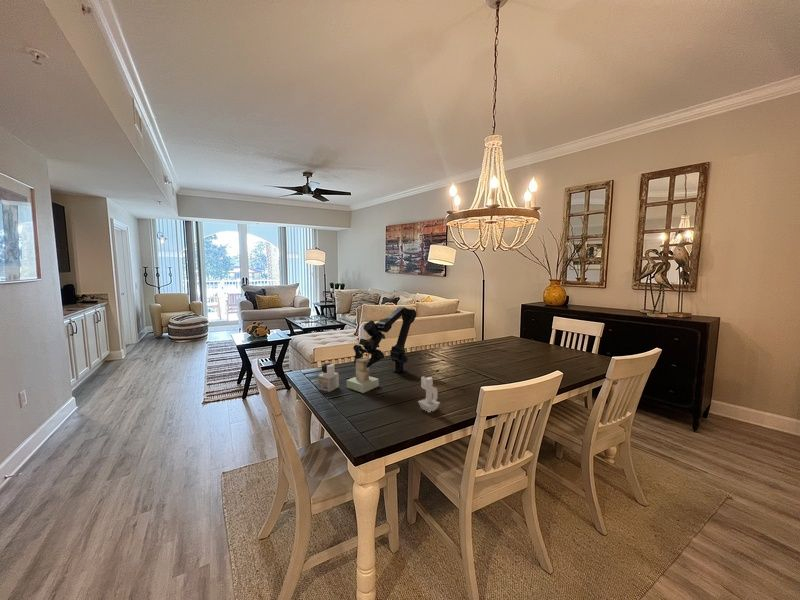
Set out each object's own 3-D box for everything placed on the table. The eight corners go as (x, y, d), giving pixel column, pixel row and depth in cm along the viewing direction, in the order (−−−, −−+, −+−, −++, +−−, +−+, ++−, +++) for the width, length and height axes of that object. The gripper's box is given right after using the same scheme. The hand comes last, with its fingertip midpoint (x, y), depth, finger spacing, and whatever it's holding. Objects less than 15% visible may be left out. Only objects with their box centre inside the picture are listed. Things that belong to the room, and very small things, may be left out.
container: (318, 389, 174) (317, 365, 172) (327, 384, 181) (327, 361, 179) (329, 392, 170) (329, 367, 169) (339, 387, 177) (338, 363, 175)
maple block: (362, 377, 181) (362, 357, 179) (369, 379, 177) (369, 359, 176) (355, 379, 177) (355, 359, 175) (362, 381, 174) (362, 361, 172)
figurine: (430, 415, 145) (430, 382, 143) (415, 408, 153) (416, 376, 151) (441, 411, 150) (442, 379, 148) (427, 404, 157) (428, 373, 155)
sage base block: (362, 380, 186) (362, 374, 185) (378, 386, 179) (378, 378, 178) (346, 387, 176) (346, 380, 176) (363, 393, 169) (363, 385, 169)
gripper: (355, 330, 183) (340, 354, 175) (380, 335, 171) (366, 361, 164) (365, 341, 190) (351, 364, 183) (390, 346, 179) (376, 372, 171)
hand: (360, 365), depth 175 cm, fingers open, 9 cm apart
